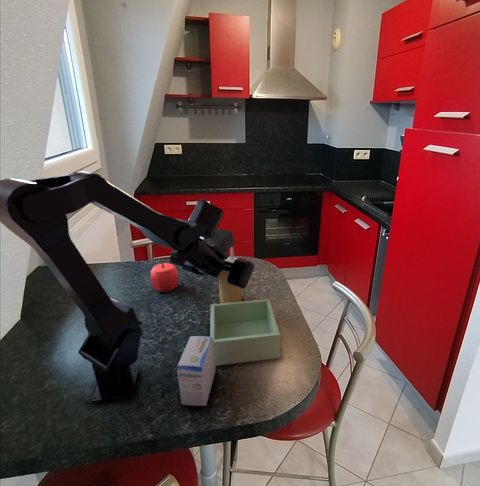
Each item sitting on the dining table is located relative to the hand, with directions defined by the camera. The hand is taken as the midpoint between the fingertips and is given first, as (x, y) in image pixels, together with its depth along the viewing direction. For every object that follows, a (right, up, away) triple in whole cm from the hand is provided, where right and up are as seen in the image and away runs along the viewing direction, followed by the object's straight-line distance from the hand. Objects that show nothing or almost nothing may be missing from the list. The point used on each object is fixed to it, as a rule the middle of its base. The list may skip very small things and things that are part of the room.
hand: (232, 278), depth 84 cm
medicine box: (-3, -18, -25) cm, 31 cm away
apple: (-20, -4, +9) cm, 22 cm away
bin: (+4, -12, -13) cm, 18 cm away
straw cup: (-1, -7, +1) cm, 7 cm away
